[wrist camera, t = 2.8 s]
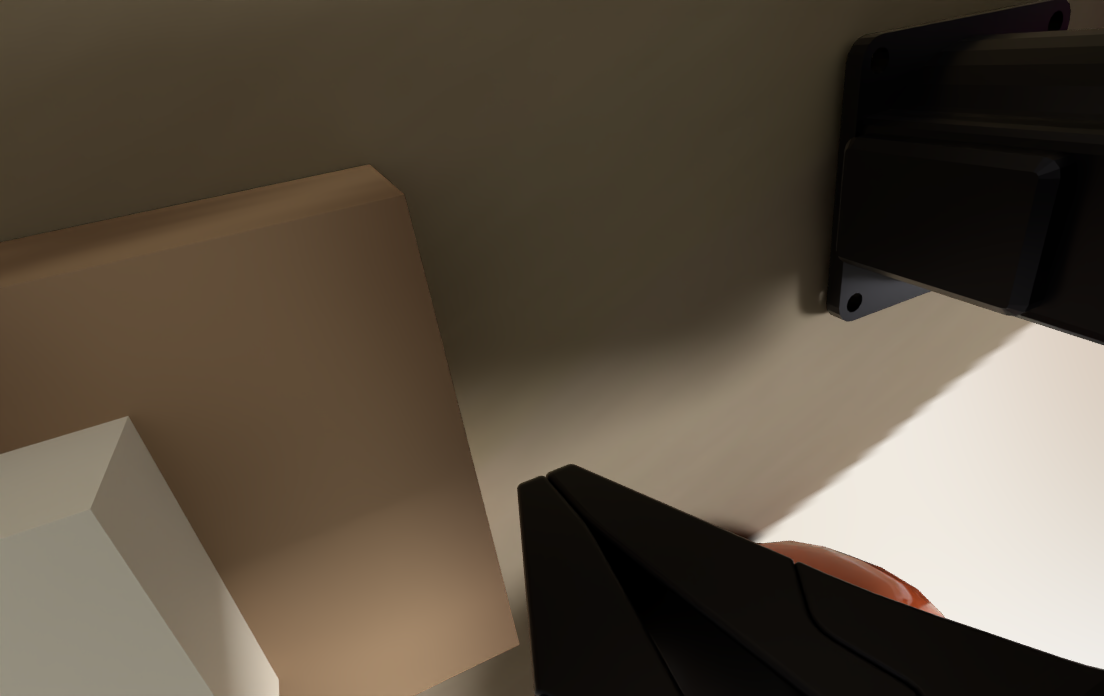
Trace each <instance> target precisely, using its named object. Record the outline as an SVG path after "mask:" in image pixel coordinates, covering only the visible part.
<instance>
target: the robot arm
mask: <svg viewBox="0 0 1104 696" xmlns="http://www.w3.org/2000/svg"><path fill="white" fill-rule="evenodd" d="M1070 12H1071V10H1070V4H1069V3H1068V1H1067V0H1041V1H1036V2H1031V3H1026V4H1021V5H1016V6H1011V7H1006V8H1001V9H995V10H990V11H985V12H980V13H975V14H970V15H965V16H960V17H954V18H949V19H944V20H939V21H934V22H929V23H924V24H919V25H914V26H908V27H903V28H898V29H893V30H888V31H883V32H878V33H873V34H868V35H865V36H863V37H861V38H859V39H858V40H857V41H856V42H855V43H854V44H853V46H852V48H851V50H850V52H849V54H848V57H847V62H846V70H845V82H844V95H843V107H842V119H841V132H840V144H839V156H838V169H837V181H836V193H835V206H834V218H833V230H832V243H831V255H830V268H829V280H828V292H827V310H828V312H829V313H830V314H831V315H833V316H835V317H838V318H840V319H843V320H845V321H853V320H856V319H858V318H861V317H864V316H866V315H869V314H872V313H874V312H877V311H879V310H882V309H885V308H887V307H890V306H893V305H895V304H898V303H901V302H903V301H906V300H909V299H911V298H914V297H916V296H919V295H922V294H924V293H927V292H930V291H933V292H936V293H940V294H943V295H946V296H949V297H952V298H955V299H958V300H961V301H964V302H967V303H970V304H973V305H976V306H980V307H983V308H986V309H989V310H992V311H995V312H998V313H1001V314H1004V315H1009V316H1015V317H1018V318H1021V319H1024V320H1027V321H1030V322H1033V323H1036V324H1040V325H1043V326H1046V327H1049V328H1052V329H1055V330H1058V331H1061V332H1064V333H1067V334H1070V335H1073V336H1077V337H1080V338H1083V339H1086V340H1089V341H1092V342H1095V343H1098V344H1101V345H1104V28H1096V29H1079V30H1067V29H1068V25H1069V20H1070ZM872 55H873V61H872V65H871V59H872ZM517 492H518V504H519V516H520V528H521V540H522V552H523V564H524V576H525V588H526V600H527V612H528V624H529V636H530V649H531V661H532V673H533V685H534V694H535V696H1104V669H1100V668H1095V667H1092V666H1087V665H1084V664H1081V663H1078V662H1074V661H1071V660H1068V659H1064V658H1061V657H1058V656H1055V655H1052V654H1049V653H1047V652H1043V651H1041V650H1038V649H1034V648H1032V647H1029V646H1026V645H1023V644H1020V643H1017V642H1014V641H1011V640H1008V639H1005V638H1002V637H999V636H996V635H994V634H991V633H988V632H985V631H982V630H979V629H976V628H973V627H970V626H967V625H964V624H961V623H958V622H955V621H952V620H949V619H946V618H944V617H941V616H938V615H935V614H932V613H929V612H926V611H923V610H921V609H918V608H915V607H912V606H909V605H907V604H904V603H901V602H898V601H896V600H893V599H890V598H887V597H884V596H882V595H879V594H876V593H874V592H871V591H869V590H866V589H864V588H861V587H859V586H856V585H854V584H851V583H849V582H847V581H844V580H842V579H839V578H837V577H834V576H832V575H829V574H827V573H825V572H822V571H820V570H818V569H815V568H813V567H811V566H808V565H806V564H804V563H802V562H796V563H795V564H794V561H793V559H791V558H789V557H787V556H785V555H782V554H780V553H778V552H776V551H773V550H771V549H769V548H766V547H764V546H762V545H759V544H757V543H755V542H752V541H750V540H748V539H745V538H743V537H741V536H739V535H736V534H734V533H732V532H729V531H727V530H725V529H722V528H720V527H718V526H715V525H713V524H711V523H709V522H706V521H704V520H702V519H699V518H697V517H695V516H692V515H690V514H688V513H685V512H683V511H681V510H678V509H676V508H674V507H672V506H669V505H667V504H665V503H662V502H660V501H658V500H655V499H653V498H651V497H648V496H646V495H644V494H641V493H639V492H637V491H635V490H632V489H630V488H628V487H625V486H623V485H621V484H618V483H616V482H614V481H611V480H609V479H607V478H604V477H602V476H600V475H598V474H595V473H593V472H591V471H588V470H586V469H584V468H581V467H579V466H577V465H574V464H569V465H566V466H563V467H561V468H558V469H556V470H553V471H551V472H549V473H548V474H547V475H546V477H545V476H538V477H536V478H533V479H531V480H528V481H526V482H523V483H521V484H519V485H518V488H517Z"/></svg>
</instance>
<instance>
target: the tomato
mask: <svg viewBox="0 0 1104 696" xmlns="http://www.w3.org/2000/svg"><path fill="white" fill-rule="evenodd" d="M757 544H759V545H762V546H764V547H766V548H769V549H771V550H773V551H776V552H778V553H780V554H782V555H785V556H787V557H789V558H791V559H793V561H794V564H795V563H796V562H802V563H804V564H806V565H808V566H811V567H813V568H815V569H818V570H820V571H822V572H825V573H827V574H829V575H832V576H834V577H837V578H839V579H842V580H844V581H847V582H849V583H851V584H854V585H856V586H859V587H861V588H864V589H866V590H869V591H871V592H874V593H876V594H879V595H882V596H884V597H887V598H890V599H893V600H896V601H898V602H901V603H904V604H907V605H909V606H912V607H915V608H918V609H921V610H923V611H926V612H929V613H932V614H935V615H938V616H941V617H944V616H943V614H942V613H941V612H940V611H939V610H938V609H937V608H936V607H935V606H934V605H933V604H932V603H931V602H929V600H928V599H927V598H926V597H925V596H924V595H923V594H922V593H921V592H920V591H919V590H918V589H916V588H915V587H913V586H911V585H910V584H908V583H906V582H905V581H903V580H901V579H899V578H898V577H896V576H895V575H893V574H891V573H890V572H888V571H886V570H885V569H883V568H881V567H878V566H876V565H873V564H871V563H868V562H865V561H863V560H860V559H858V558H855V557H852V556H850V555H847V554H844V553H842V552H838V551H836V550H832V549H830V548H826V547H823V546H818V545H812V544H806V543H800V542H795V541H782V542H772V543H757ZM944 618H945V617H944Z"/></svg>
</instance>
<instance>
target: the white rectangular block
mask: <svg viewBox="0 0 1104 696" xmlns="http://www.w3.org/2000/svg"><path fill="white" fill-rule="evenodd" d="M0 696H279V679H278V677H277V676H276V674H275V672H274V670H273V669H272V667H271V665H270V663H269V662H268V660H267V658H266V656H265V655H264V653H263V651H262V649H261V648H260V646H259V644H258V642H257V641H256V639H255V637H254V635H253V634H252V632H251V630H250V628H249V627H248V625H247V623H246V621H245V620H244V618H243V616H242V614H241V612H240V611H239V609H238V607H237V605H236V604H235V602H234V600H233V598H232V597H231V595H230V593H229V591H228V590H227V588H226V586H225V584H224V583H223V581H222V579H221V577H220V576H219V574H218V572H217V570H216V569H215V567H214V565H213V563H212V562H211V560H210V558H209V556H208V555H207V553H206V551H205V549H204V548H203V546H202V544H201V542H200V541H199V539H198V537H197V535H196V534H195V532H194V530H193V528H192V527H191V525H190V523H189V521H188V520H187V518H186V516H185V514H184V513H183V511H182V509H181V507H180V506H179V504H178V502H177V500H176V499H175V497H174V495H173V493H172V491H171V490H170V488H169V486H168V484H167V483H166V481H165V479H164V477H163V476H162V474H161V472H160V470H159V469H158V467H157V465H156V463H155V462H154V460H153V458H152V456H151V455H150V453H149V451H148V449H147V448H146V446H145V444H144V442H143V441H142V439H141V437H140V435H139V434H138V432H137V430H136V428H135V427H134V425H133V423H132V421H131V420H130V418H129V416H126V417H123V418H120V419H116V420H113V421H110V422H106V423H103V424H100V425H96V426H93V427H90V428H86V429H83V430H80V431H76V432H73V433H70V434H66V435H63V436H60V437H56V438H53V439H50V440H46V441H43V442H40V443H36V444H33V445H30V446H26V447H23V448H20V449H16V450H13V451H10V452H6V453H3V454H0Z"/></svg>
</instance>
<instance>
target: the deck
mask: <svg viewBox="0 0 1104 696" xmlns="http://www.w3.org/2000/svg"><path fill="white" fill-rule="evenodd" d="M126 416H129V418H130V420H131V421H132V423H133V425H134V427H135V428H136V430H137V432H138V434H139V435H140V437H141V439H142V441H143V442H144V444H145V446H146V448H147V449H148V451H149V453H150V455H151V456H152V458H153V460H154V462H155V463H156V465H157V467H158V469H159V470H160V472H161V474H162V476H163V477H164V479H165V481H166V483H167V484H168V486H169V488H170V490H171V491H172V493H173V495H174V497H175V499H176V500H177V502H178V504H179V506H180V507H181V509H182V511H183V513H184V514H185V516H186V518H187V520H188V521H189V523H190V525H191V527H192V528H193V530H194V532H195V534H196V535H197V537H198V539H199V541H200V542H201V544H202V546H203V548H204V549H205V551H206V553H207V555H208V556H209V558H210V560H211V562H212V563H213V565H214V567H215V569H216V570H217V572H218V574H219V576H220V577H221V579H222V581H223V583H224V584H225V586H226V588H227V590H228V591H229V593H230V595H231V597H232V598H233V600H234V602H235V604H236V605H237V607H238V609H239V611H240V612H241V614H242V616H243V618H244V620H245V621H246V623H247V625H248V627H249V628H250V630H251V632H252V634H253V635H254V637H255V639H256V641H257V642H258V644H259V646H260V648H261V649H262V651H263V653H264V655H265V656H266V658H267V660H268V662H269V663H270V665H271V667H272V669H273V670H274V672H275V674H276V676H277V677H278V679H279V696H414V695H416V694H419V693H421V692H423V691H425V690H427V689H429V688H431V687H433V686H435V685H437V684H439V683H441V682H443V681H445V680H447V679H450V678H452V677H454V676H456V675H458V674H460V673H462V672H464V671H466V670H468V669H470V668H472V667H474V666H476V665H478V664H481V663H483V662H485V661H487V660H489V659H491V658H493V657H495V656H497V655H499V654H501V653H503V652H505V651H507V650H509V649H512V648H514V647H516V646H518V645H520V644H519V640H518V636H517V632H516V628H515V624H514V620H513V617H512V613H511V609H510V605H509V601H508V597H507V593H506V589H505V585H504V581H503V577H502V574H501V570H500V566H499V562H498V558H497V554H496V550H495V546H494V542H493V538H492V534H491V531H490V527H489V523H488V519H487V515H486V511H485V507H484V503H483V499H482V495H481V491H480V488H479V484H478V480H477V476H476V472H475V468H474V464H473V460H472V456H471V452H470V448H469V445H468V441H467V437H466V433H465V429H464V425H463V421H462V417H461V413H460V409H459V405H458V402H457V398H456V394H455V390H454V386H453V382H452V378H451V374H450V370H449V366H448V362H447V359H446V355H445V351H444V347H443V343H442V339H441V335H440V331H439V327H438V323H437V319H436V316H435V312H434V308H433V304H432V300H431V296H430V292H429V288H428V284H427V280H426V276H425V273H424V269H423V265H422V261H421V257H420V253H419V249H418V245H417V241H416V237H415V233H414V230H413V226H412V222H411V218H410V214H409V210H408V206H407V202H406V198H405V195H404V194H403V193H402V192H401V191H400V190H399V189H397V188H396V187H395V186H394V185H393V184H392V183H391V182H389V181H388V180H387V179H386V178H385V177H384V176H383V175H381V174H380V173H379V172H378V171H377V170H376V169H375V168H373V167H372V166H371V165H370V164H368V165H363V166H358V167H354V168H349V169H344V170H340V171H335V172H330V173H325V174H321V175H316V176H311V177H306V178H302V179H297V180H292V181H288V182H283V183H278V184H273V185H269V186H264V187H259V188H254V189H250V190H245V191H240V192H236V193H231V194H226V195H221V196H217V197H212V198H207V199H202V200H198V201H193V202H188V203H183V204H179V205H174V206H169V207H165V208H160V209H155V210H150V211H146V212H141V213H136V214H131V215H127V216H122V217H117V218H113V219H108V220H103V221H98V222H94V223H89V224H84V225H79V226H75V227H70V228H65V229H61V230H56V231H51V232H46V233H42V234H37V235H32V236H27V237H23V238H18V239H13V240H9V241H4V242H0V454H3V453H6V452H10V451H13V450H16V449H20V448H23V447H26V446H30V445H33V444H36V443H40V442H43V441H46V440H50V439H53V438H56V437H60V436H63V435H66V434H70V433H73V432H76V431H80V430H83V429H86V428H90V427H93V426H96V425H100V424H103V423H106V422H110V421H113V420H116V419H120V418H123V417H126Z"/></svg>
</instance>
